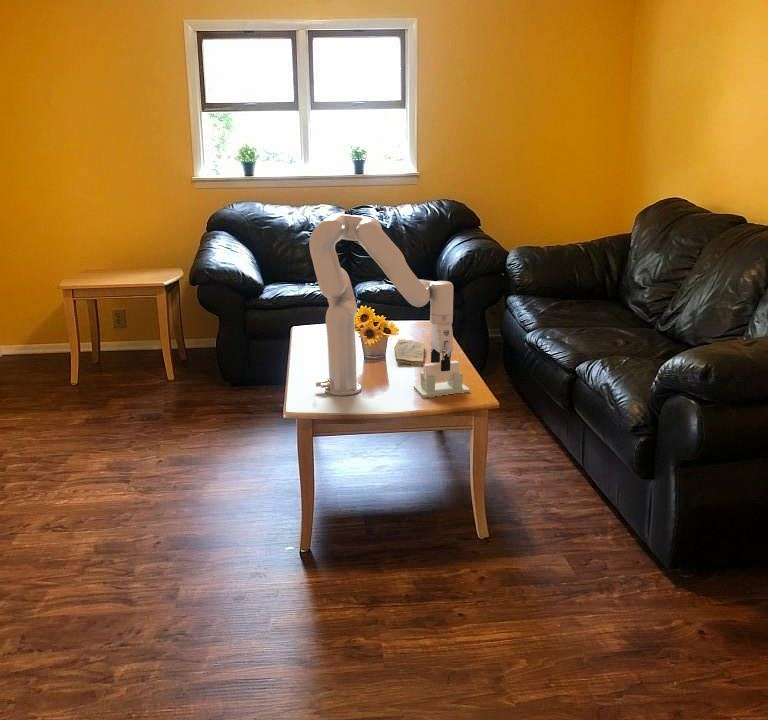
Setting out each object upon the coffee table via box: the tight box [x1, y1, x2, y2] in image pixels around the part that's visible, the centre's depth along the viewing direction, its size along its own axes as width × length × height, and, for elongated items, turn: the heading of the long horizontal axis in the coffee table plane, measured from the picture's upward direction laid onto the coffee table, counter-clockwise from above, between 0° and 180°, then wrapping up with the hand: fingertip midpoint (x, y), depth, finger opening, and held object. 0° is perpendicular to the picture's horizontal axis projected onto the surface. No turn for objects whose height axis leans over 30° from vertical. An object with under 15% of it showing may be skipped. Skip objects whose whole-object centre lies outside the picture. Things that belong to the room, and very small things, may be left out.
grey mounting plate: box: [412, 371, 471, 399], centre depth 261 cm, size 17×10×6 cm, turn 106°
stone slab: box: [393, 338, 425, 366], centre depth 305 cm, size 12×4×30 cm
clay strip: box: [423, 360, 460, 383], centre depth 260 cm, size 12×2×6 cm, turn 107°
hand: (440, 366), depth 260 cm, fingers open, 9 cm apart
